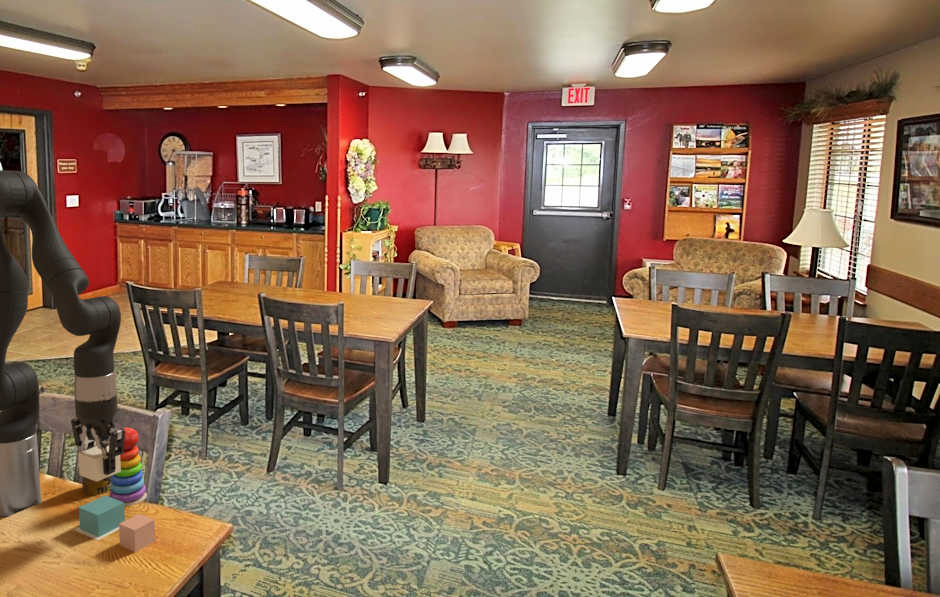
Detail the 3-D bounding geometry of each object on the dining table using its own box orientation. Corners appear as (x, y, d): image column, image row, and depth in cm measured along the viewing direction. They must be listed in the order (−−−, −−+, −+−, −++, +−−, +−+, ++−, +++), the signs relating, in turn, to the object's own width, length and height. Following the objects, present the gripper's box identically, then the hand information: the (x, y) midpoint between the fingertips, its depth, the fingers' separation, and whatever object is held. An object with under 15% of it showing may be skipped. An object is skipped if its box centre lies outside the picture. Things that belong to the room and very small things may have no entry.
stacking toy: (100, 507, 145) (96, 431, 141) (127, 492, 153) (124, 419, 149) (128, 514, 143) (125, 437, 139) (154, 498, 151) (152, 424, 147)
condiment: (115, 497, 150) (113, 450, 148) (73, 505, 145) (70, 457, 143) (112, 484, 156) (110, 438, 154) (72, 491, 151) (69, 445, 149)
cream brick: (79, 475, 132) (78, 452, 131) (103, 465, 137) (102, 443, 136) (96, 481, 130) (95, 459, 129) (120, 471, 135) (119, 449, 134)
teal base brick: (80, 528, 134) (78, 507, 133) (106, 516, 140) (105, 495, 139) (98, 537, 132) (97, 515, 131) (125, 523, 137) (124, 502, 136)
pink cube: (119, 545, 130) (118, 523, 129) (139, 535, 134) (139, 513, 133) (135, 552, 128) (134, 530, 127) (155, 541, 132) (154, 519, 131)
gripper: (55, 391, 130) (60, 468, 133) (102, 406, 124) (106, 485, 127) (90, 382, 136) (94, 455, 140) (136, 395, 131) (139, 471, 134)
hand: (100, 469), depth 133 cm, fingers closed on cream brick, 5 cm apart
